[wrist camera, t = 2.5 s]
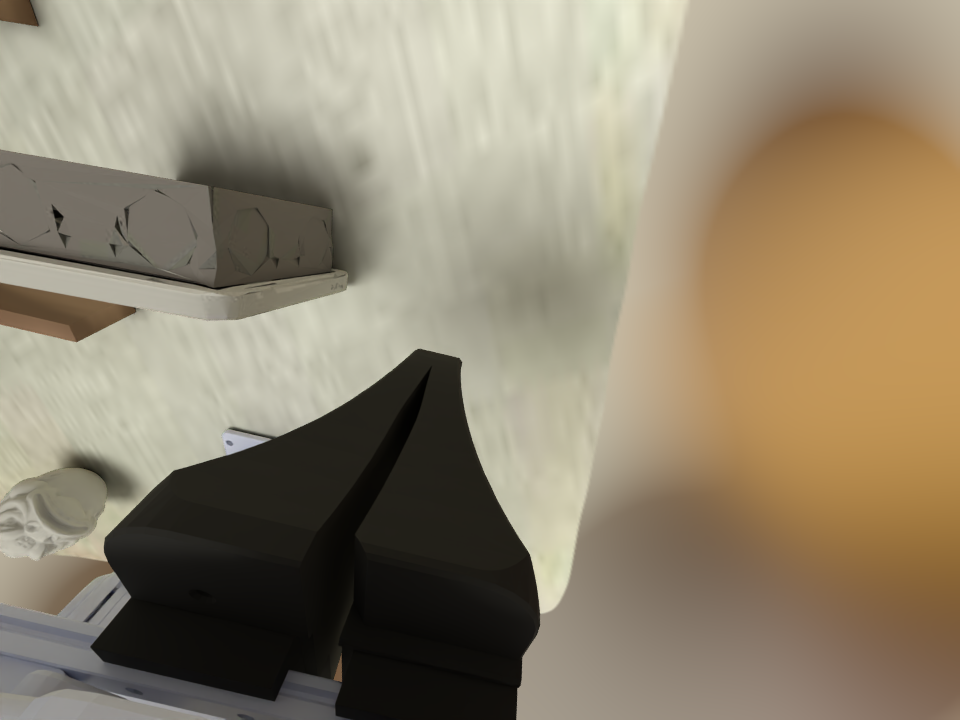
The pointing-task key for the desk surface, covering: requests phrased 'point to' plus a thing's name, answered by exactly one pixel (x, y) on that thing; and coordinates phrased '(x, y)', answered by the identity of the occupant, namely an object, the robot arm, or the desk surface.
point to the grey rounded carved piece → (50, 512)
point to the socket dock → (43, 307)
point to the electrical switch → (159, 241)
